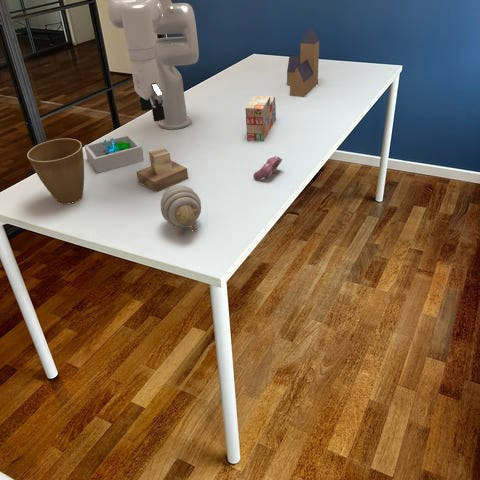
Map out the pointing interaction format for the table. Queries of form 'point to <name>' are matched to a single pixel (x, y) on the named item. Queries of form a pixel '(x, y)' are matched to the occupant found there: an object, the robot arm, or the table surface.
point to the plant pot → (60, 168)
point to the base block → (162, 177)
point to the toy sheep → (180, 207)
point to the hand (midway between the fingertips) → (153, 114)
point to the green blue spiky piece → (116, 147)
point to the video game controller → (268, 168)
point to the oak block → (160, 161)
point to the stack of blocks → (260, 117)
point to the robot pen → (113, 154)
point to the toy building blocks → (304, 66)
